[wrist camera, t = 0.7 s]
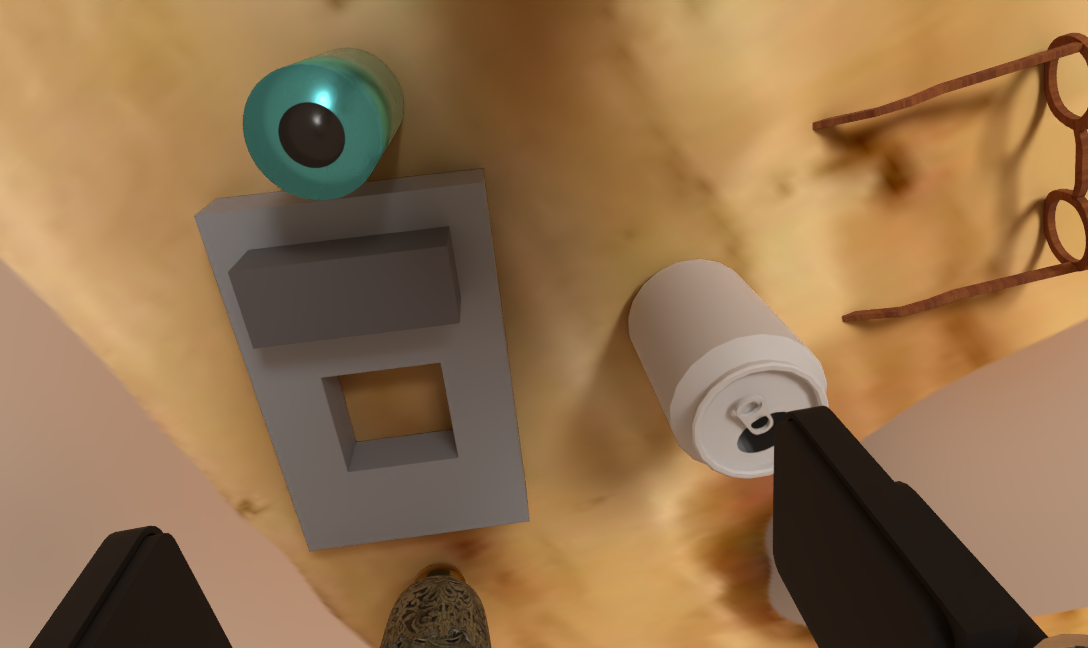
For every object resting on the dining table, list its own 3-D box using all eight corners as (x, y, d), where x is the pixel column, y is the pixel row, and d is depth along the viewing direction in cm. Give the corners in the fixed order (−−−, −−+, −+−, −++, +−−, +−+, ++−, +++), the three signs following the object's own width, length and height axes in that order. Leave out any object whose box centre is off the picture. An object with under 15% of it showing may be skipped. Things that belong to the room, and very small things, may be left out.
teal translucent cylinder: (289, 53, 32) (223, 72, 23) (393, 42, 32) (364, 57, 24) (315, 157, 34) (263, 208, 26) (412, 147, 34) (391, 193, 26)
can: (663, 386, 42) (726, 518, 31) (601, 300, 39) (648, 414, 28) (766, 323, 41) (870, 438, 30) (711, 228, 38) (805, 320, 27)
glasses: (1044, 246, 41) (1114, 277, 36) (839, 318, 42) (883, 357, 37) (1045, 27, 35) (1128, 31, 30) (806, 117, 36) (853, 134, 31)
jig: (216, 198, 34) (167, 235, 29) (483, 168, 35) (484, 198, 29) (319, 517, 44) (297, 589, 39) (526, 489, 45) (533, 556, 39)
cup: (372, 597, 48) (354, 702, 41) (412, 526, 45) (400, 625, 38) (466, 623, 50) (464, 728, 43) (509, 557, 47) (515, 656, 40)
